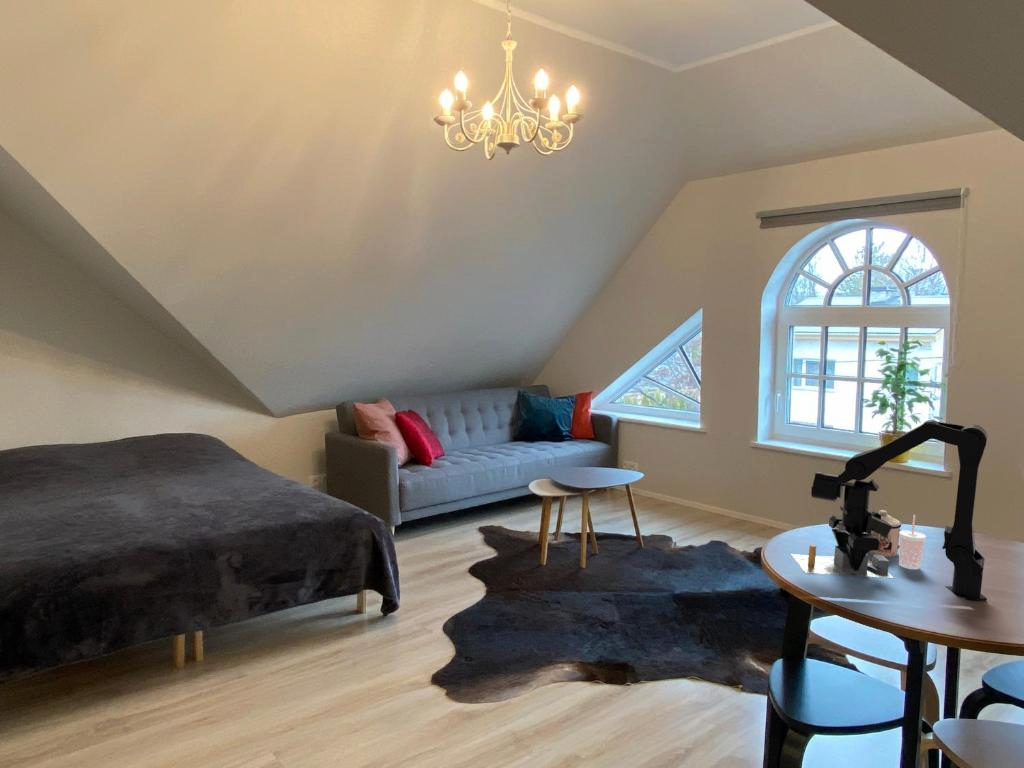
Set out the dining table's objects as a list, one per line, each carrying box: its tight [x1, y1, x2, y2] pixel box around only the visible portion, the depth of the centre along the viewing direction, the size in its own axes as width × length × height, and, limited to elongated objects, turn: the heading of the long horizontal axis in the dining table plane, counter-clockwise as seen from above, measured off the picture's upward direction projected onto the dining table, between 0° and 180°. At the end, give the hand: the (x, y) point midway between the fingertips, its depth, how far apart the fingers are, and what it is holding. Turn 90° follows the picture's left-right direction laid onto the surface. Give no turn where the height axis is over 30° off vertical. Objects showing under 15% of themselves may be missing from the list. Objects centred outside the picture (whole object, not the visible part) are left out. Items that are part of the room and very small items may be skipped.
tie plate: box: [790, 553, 895, 579], centre depth 189 cm, size 13×21×4 cm, turn 85°
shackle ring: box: [833, 545, 869, 573], centre depth 187 cm, size 6×6×4 cm
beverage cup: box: [898, 514, 927, 570], centre depth 190 cm, size 6×6×14 cm
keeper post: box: [808, 544, 817, 566], centre depth 188 cm, size 2×2×5 cm
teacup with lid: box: [864, 509, 904, 557], centre depth 200 cm, size 12×9×12 cm
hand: (850, 565), depth 188 cm, fingers open, 7 cm apart
